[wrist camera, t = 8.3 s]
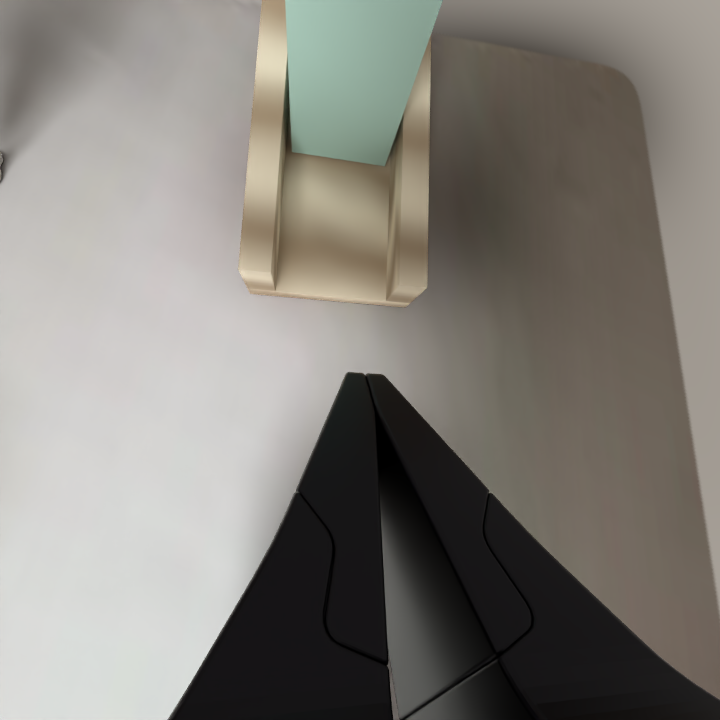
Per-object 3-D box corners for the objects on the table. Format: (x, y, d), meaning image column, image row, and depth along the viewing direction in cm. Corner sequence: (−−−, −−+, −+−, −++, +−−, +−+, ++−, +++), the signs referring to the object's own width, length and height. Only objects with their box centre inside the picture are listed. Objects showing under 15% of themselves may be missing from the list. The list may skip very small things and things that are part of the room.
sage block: (384, 166, 22) (449, -20, 12) (291, 151, 21) (282, -62, 11) (387, 85, 23) (450, -151, 13) (297, 67, 22) (293, -201, 12)
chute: (405, 307, 23) (427, 287, 19) (250, 293, 21) (238, 269, 17) (410, 81, 25) (431, 21, 21) (270, 53, 23) (263, -18, 19)
